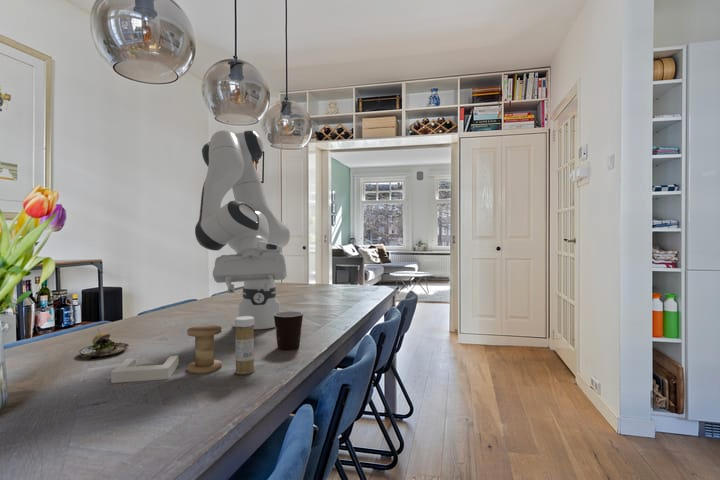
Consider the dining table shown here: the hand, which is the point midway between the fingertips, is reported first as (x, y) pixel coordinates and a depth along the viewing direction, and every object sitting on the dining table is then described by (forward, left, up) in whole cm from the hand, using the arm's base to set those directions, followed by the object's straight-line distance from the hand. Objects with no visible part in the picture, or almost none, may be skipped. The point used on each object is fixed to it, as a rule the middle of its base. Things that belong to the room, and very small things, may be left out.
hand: (248, 290), depth 108 cm
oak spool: (+7, -10, -18) cm, 22 cm away
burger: (-13, -40, -19) cm, 46 cm away
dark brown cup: (-9, +12, -19) cm, 24 cm away
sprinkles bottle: (+12, 0, -19) cm, 22 cm away
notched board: (+8, -23, -18) cm, 31 cm away
